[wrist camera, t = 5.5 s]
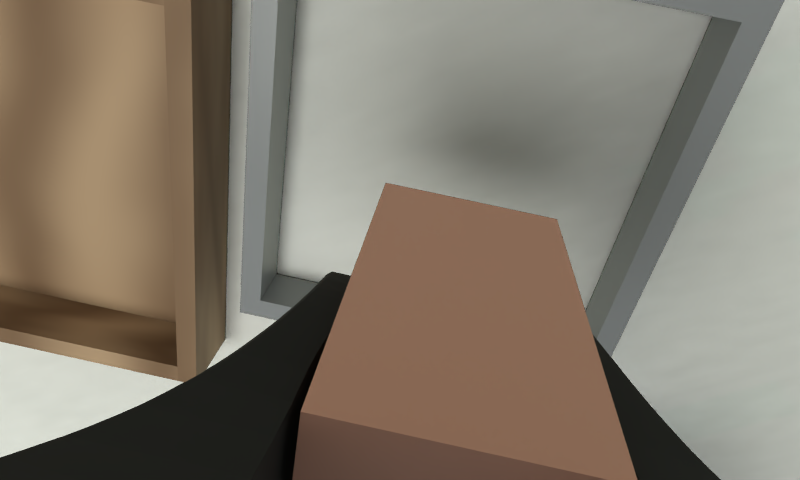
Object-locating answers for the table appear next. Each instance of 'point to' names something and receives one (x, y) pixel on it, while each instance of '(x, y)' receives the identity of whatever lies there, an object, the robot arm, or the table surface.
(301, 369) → the robot arm
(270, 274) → the grey square tray
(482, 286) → the brick block
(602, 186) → the table surface
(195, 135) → the walnut bin
